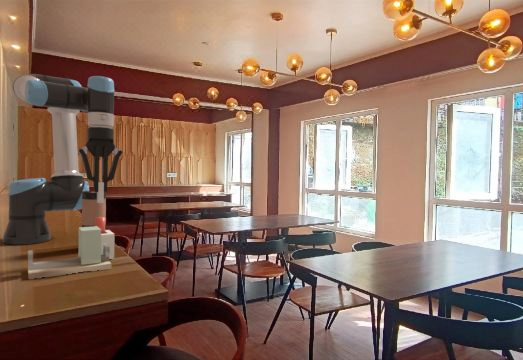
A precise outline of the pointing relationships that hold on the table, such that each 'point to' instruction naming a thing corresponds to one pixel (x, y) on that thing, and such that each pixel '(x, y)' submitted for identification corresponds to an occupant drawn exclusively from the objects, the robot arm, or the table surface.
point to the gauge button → (100, 223)
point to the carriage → (89, 245)
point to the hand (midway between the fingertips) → (100, 202)
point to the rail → (65, 265)
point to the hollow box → (108, 242)
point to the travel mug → (92, 208)
